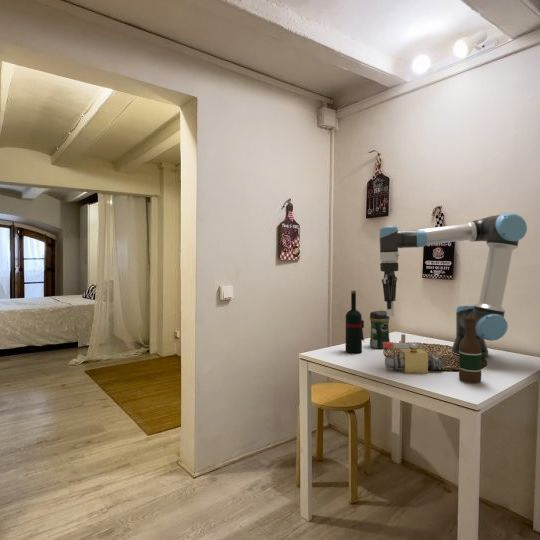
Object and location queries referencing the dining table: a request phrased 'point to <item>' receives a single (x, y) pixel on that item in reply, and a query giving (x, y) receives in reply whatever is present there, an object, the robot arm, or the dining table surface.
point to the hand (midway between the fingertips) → (390, 316)
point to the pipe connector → (402, 340)
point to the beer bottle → (470, 354)
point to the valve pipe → (413, 361)
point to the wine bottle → (354, 328)
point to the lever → (400, 345)
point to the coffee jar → (379, 329)
